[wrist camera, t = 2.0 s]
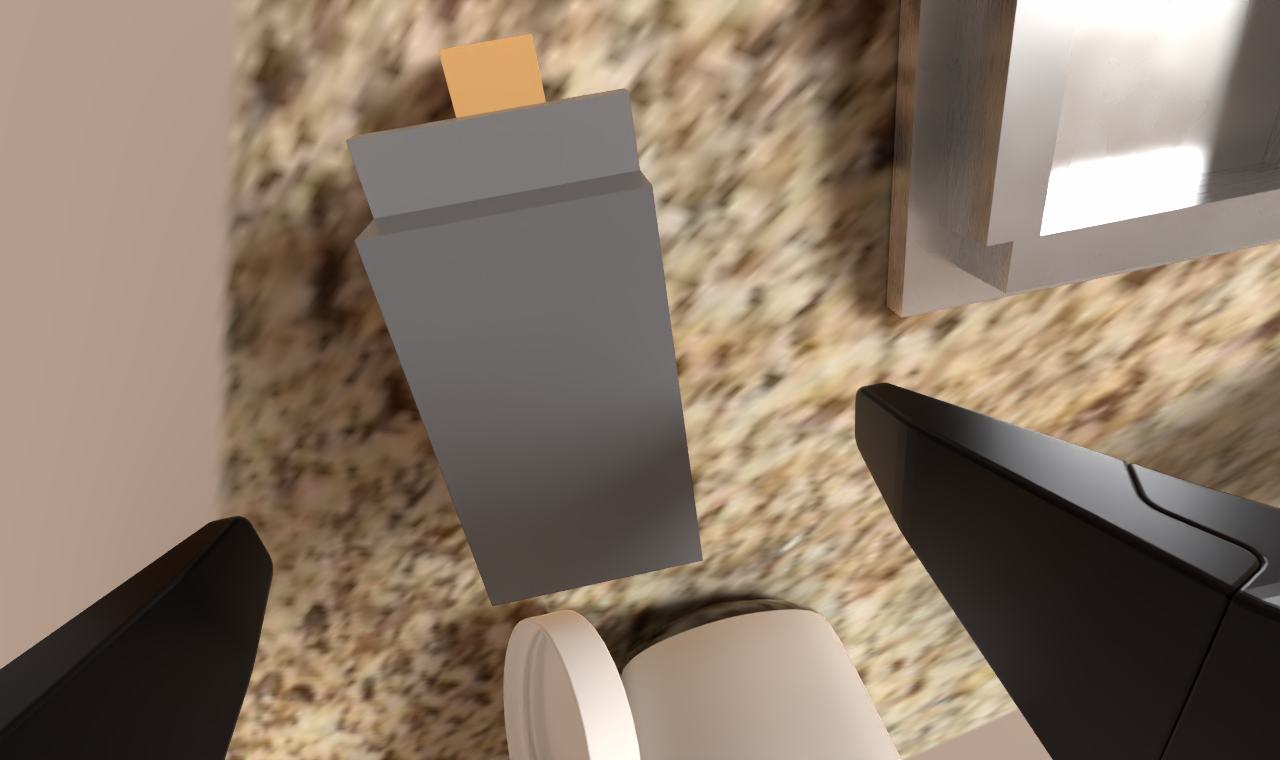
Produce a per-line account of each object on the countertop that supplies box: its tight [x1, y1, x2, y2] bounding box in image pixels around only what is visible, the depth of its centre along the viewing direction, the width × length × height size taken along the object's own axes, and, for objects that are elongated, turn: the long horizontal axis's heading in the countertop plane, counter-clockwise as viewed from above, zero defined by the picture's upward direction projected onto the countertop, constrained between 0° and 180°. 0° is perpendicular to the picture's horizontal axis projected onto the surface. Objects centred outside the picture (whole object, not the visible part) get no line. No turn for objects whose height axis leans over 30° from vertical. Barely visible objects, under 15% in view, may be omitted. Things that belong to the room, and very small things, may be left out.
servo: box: [346, 34, 703, 606], centre depth 13 cm, size 10×4×6 cm, turn 8°
